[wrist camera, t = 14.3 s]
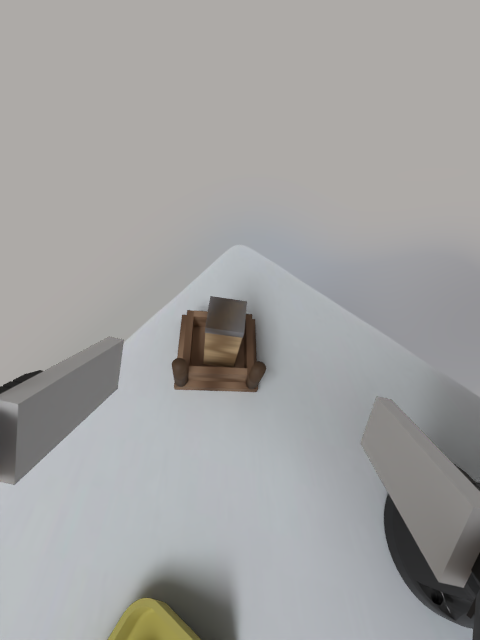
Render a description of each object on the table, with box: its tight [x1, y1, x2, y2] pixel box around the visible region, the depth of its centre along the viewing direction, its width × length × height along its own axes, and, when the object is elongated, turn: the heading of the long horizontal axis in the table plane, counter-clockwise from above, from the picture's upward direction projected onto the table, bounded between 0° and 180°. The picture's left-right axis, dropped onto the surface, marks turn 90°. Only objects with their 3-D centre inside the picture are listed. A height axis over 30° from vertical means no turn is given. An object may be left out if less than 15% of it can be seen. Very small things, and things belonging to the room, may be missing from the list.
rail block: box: [203, 296, 247, 368], centre depth 39 cm, size 5×5×11 cm
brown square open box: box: [172, 310, 266, 392], centre depth 42 cm, size 12×12×7 cm
